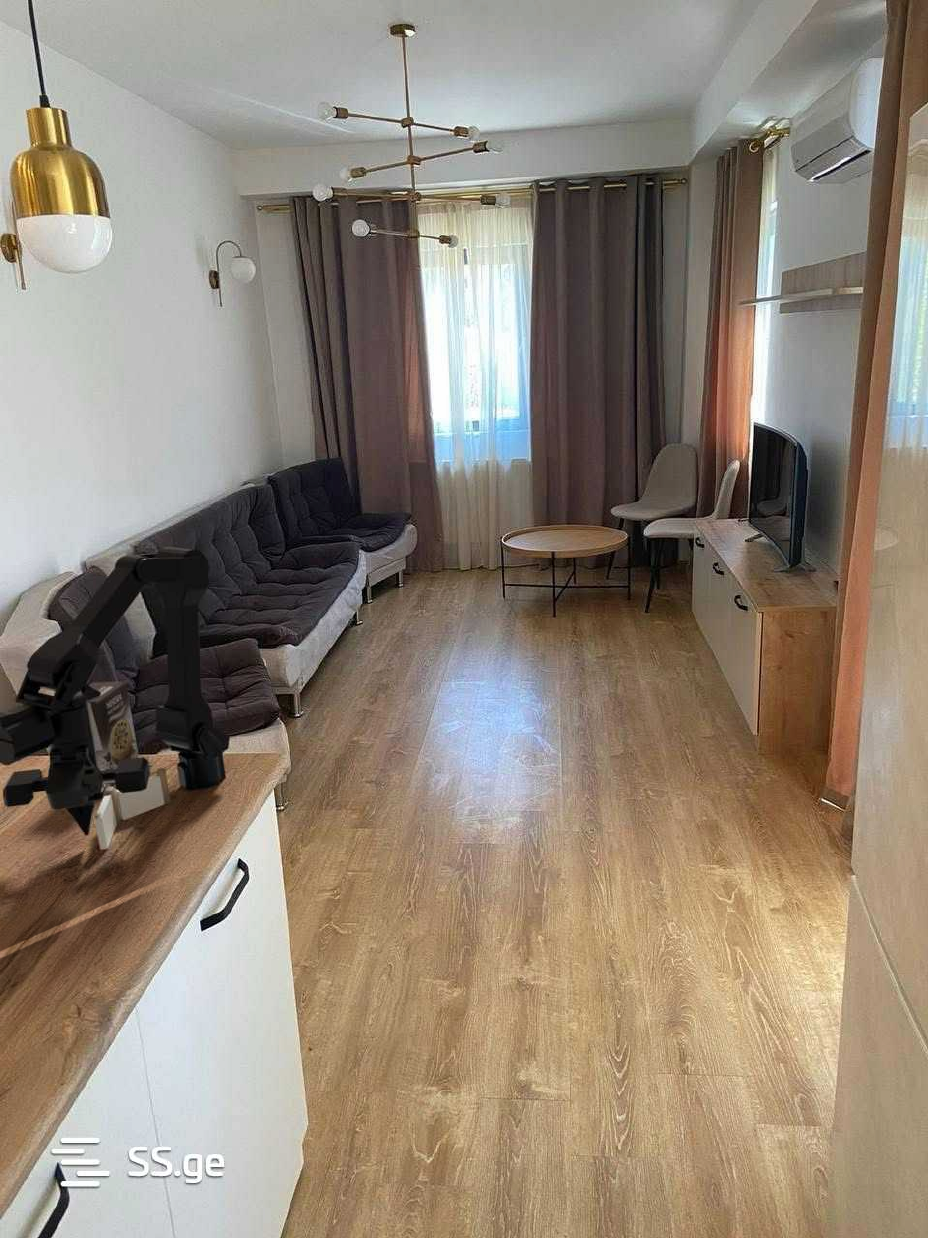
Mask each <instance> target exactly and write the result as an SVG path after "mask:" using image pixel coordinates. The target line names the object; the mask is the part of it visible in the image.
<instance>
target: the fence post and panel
mask: <svg viewBox="0 0 928 1238" xmlns="http://www.w3.org/2000/svg"><path fill="white" fill-rule="evenodd" d="M155 773H156V774H155V775H152V776H149V780H148V784H147V788H146V789H145V790H143V791H138V792H129V793H121V792H120V791H118V790H117V789H116V787H107V789H106V792H105V795H104V796H107V795H111V797H112V802H113V807H114V813H115V818H116V823H117V825H118V824H120V823H121V822H122V821H125V820H128V819H131V818H133V817H136V816H138V815H140V814H143V813H146V812H148V811H151V810H153V809H156V808H159V807H161V806H163V805H168V804H170V803H171V801H172V800H171V795H170V787H169V782H168V778H167V771H166V768H164V767H162V768H161V767H160V768H157V769H156V771H155Z"/></svg>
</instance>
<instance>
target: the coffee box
mask: <svg viewBox="0 0 928 1238" xmlns="http://www.w3.org/2000/svg"><path fill="white" fill-rule="evenodd" d="M88 685H89V686H90V687H92V688H94V689H95V690H98V691H100V692H101V695H100V696H99V697H96V698H94V699H91V700H89V701H88V707H89V714H90V720H91V726H92V732H94V744H95V750H96V756H97V758H98V763H99V765H98V768H99V769H105V770H112V769H117V766H118V763H119V760H124V759H133V758H140V756H139V751H138V745H137V744H138V743H137V739H136V732H135V727H134V722H133V717H132V710H131V709H132V708H131V704H130V699H129V692H128V686H127V682H125V681H104V682H101V681H98V682H97V681H95V682H92V683H90V684H88ZM107 787H115V788H116V785H115V783H110V784H108V786H107Z"/></svg>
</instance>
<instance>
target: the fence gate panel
mask: <svg viewBox="0 0 928 1238" xmlns="http://www.w3.org/2000/svg"><path fill="white" fill-rule="evenodd" d="M94 825H95V827H96V828H95V829H96V834H97V839H98V844H99V849H100V850H102V851H103V850H107V849H109V848H110V847H109V846H110V844H111V840H112V838H113V836H114V833H115V830H116V827H117V825H118V824H117V823H116V818H115V813H114V807H113V802H112V797H111V795H107V796H104V798H103V799H102V800H101V802H100V804H99V807H98V810H97V812H96V814H95V817H94Z"/></svg>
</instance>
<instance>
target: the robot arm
mask: <svg viewBox="0 0 928 1238" xmlns="http://www.w3.org/2000/svg"><path fill="white" fill-rule="evenodd" d="M209 572H210V564H209V560H208V557H207V556H205V555H204V553H203V552H202V551H201V550H198V549H193V548H192V549H191V548H182V547H173V546H165V547H162V548H160V549H158V550H157V552H156V553H142V554H141V553H140V554H136V555H128V554H126V555H123V556H121V557H120V558H118V559H117V560H116V561H115V564H114V568H113V570H111V572H110V573H109V575H108V576H107V577H106V579H105V580H104V581H103V582H102V583H101V585H100V586H99V588H98V589H97V590H96V591H95V593H94V594H93V596H92V597H91V598H90V599H89V601H88V602H87V603H86V604H85V606H84V607H83V608H82V610H81V611H80V612H79V613H78V614H77V616H76V617H75V619H74V620H73V621H72V623H71V624H70V625H69V626H68V627H66V628H65V629H64V630H63V631H60V632H59V633H56V634H55V635H54V636H51V637H50V638H48V639H47V640H46V641H45V642H44V643H43V644H42V645H41V646H39V648H38V649H36V650H35V651H34V652H33V653H32V654H31V655H30V657H29V659H28V661H27V664H26V668H27V671H26V674H25V676H24V678H23V681H22V683H21V685H20V688H19V691H18V693H17V696H16V698H15V699H14V700H15V701H14V702H15V703H16V704H19V705H17V706H16V707H13V708H11V709H9V710H5V711H0V764H2V765H3V766H10V765H13V764H15V763H17V762H19V761H21V760H24V759H25V758H28V757H31V756H33V755H35V754H37V753H40V752H41V751H43V750H46V749H48V748H49V749H50V750H49V753H48V754H49V768H48V773H47V776H43V772H42V770H41V769H39V768H36V769H27V770H19V771H13V772H12V774H11V775H10V776H9V778H8V779H7V781H6V783H5V785H4V787H3V789H2V797H3V803H4V806H5V807H8V808H10V807H18V806H25V805H26V806H28V805H29V804H30V803H31V802H32V801H33V800H34V797H35V795H34V793H40V792H45V795H46V797H47V799H48V800H47V801H48V802H49V806H50V808H51V809H53V810H62V809H63V808H64V809H66V811H67V812H68V813H69V814H70V815H71V816H72V818H73V819H74V821H75V822H76V823H77V826H78V827H79V828H80V830H81V831H82V832H83V834H84V836H89V834H90V830H91V826H92V821H93V817H94V811H95V806H96V802H97V801H102V800H103V798H104V795H105V792H106V789H107V786H108V784H110V783H115V785H116V787H115V790H118V791H120V792H121V793H129V792H138V791H143V790H145V789H146V788H147V784H148V780H149V777H151V769H150V762H149V761H148V760H147V759H146V758H145V757H144V756H143V757H139V758H133V759H124V760H119V763H118V766H117V769H112V770H105V769H99V768H98V765H99V763H98V758H97V756H96V750H95V744H94V732H92V726H91V720H90V714H89V707H88V701H89V700H91V699H94V698H96V697H99V696H100V695H101V692H100V691H98V690H95V689H94V688H92V687H90V686H89V685H90V684H89V683H88V682H89V681H90V679H91V677H92V675H93V673H94V671H95V669H96V667H97V665H98V661H99V653H100V651H99V650H100V648H101V647H102V646H103V643H104V642H105V640H106V639H107V637H109V635H110V633H111V632H112V631H113V630H114V628H115V627H116V625H118V623H119V621H120V620H121V619H122V618H123V616H124V615H125V613H126V612H127V610H128V609H130V607H131V605H132V604H133V603H134V601H135V600H136V599H137V597H138V596H139V595H140V593H141V592H142V590H144V588H145V587H146V585H147V584H149V583H150V584H151V583H153V586H154V589H155V590H156V592H157V595H159V598H160V599H161V601H162V602H163V604H164V610H165V612H164V613H165V632H166V633H165V634H166V653H167V677H168V678H167V679H168V695H167V697H166V699H165V701H164V703H163V704H162V705H159V706H158V705H157V706H156V707H155V711H154V712H155V713H154V714H155V717H156V727H155V729H154V730H155V731H154V732H158V736H159V739H160V740H161V741H162V742H163V743H164V744H166V745H167V747H168V748H169V750H170V751H171V752H176V753H177V756H178V757H177V758H178V761H179V762H177V763H176V767H177V768H176V769H177V774H178V781H179V786H180V787H182V788H183V789H184V790H185V791H188V792H189V791H195V790H203V789H209V788H212V787H215V786H216V785H218V784H220V782H221V781H222V780H223V779H226V778H227V775H226V767H225V762H224V754H223V753H224V752H225V751H228V750H229V746H230V740H231V739H230V735H228V734H226V733H225V732H223V731H222V730H219V729H218V728H216V727H215V722H214V717H213V712H212V709H211V707H210V706H209V703H208V702H207V700H206V698H205V696H204V695H203V692H202V691H203V690H202V672H201V670H202V669H201V646H200V645H201V642H200V640H201V639H200V620H199V619H200V617H199V616H200V615H199V604H200V602H201V601H202V599H203V597H204V595H205V593H206V591H207V590H208V582H209ZM41 689H43V690H46V691H52V692H54V694H53V695H51V694H47V693H41V692H39V691H40V690H41Z"/></svg>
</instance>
